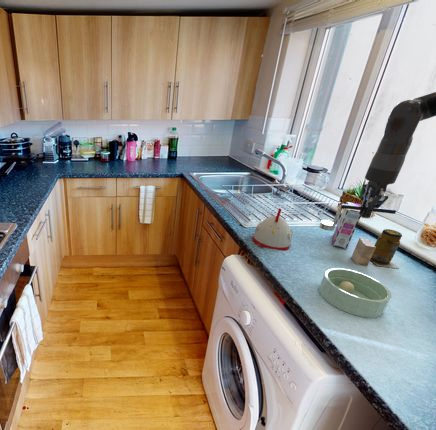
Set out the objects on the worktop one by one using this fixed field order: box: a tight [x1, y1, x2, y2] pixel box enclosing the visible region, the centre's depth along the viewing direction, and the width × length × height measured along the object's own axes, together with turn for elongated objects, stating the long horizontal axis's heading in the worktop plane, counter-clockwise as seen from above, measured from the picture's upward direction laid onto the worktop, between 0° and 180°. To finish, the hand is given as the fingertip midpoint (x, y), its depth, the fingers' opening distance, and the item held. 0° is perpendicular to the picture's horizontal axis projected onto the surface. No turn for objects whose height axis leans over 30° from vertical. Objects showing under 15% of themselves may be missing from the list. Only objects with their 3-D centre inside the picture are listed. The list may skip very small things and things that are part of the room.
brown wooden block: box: [351, 237, 376, 267], centre depth 105 cm, size 3×6×8 cm, turn 159°
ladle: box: [318, 203, 397, 232], centre depth 99 cm, size 19×4×10 cm, turn 70°
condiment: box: [370, 228, 403, 269], centre depth 105 cm, size 7×8×12 cm
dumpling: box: [339, 281, 354, 293], centre depth 89 cm, size 4×4×4 cm
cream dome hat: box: [252, 208, 293, 252], centre depth 116 cm, size 14×14×15 cm
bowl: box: [318, 267, 392, 319], centre depth 86 cm, size 16×16×6 cm
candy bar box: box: [332, 201, 362, 250], centre depth 117 cm, size 11×5×16 cm, turn 145°
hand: (363, 215), depth 98 cm, fingers closed on ladle, 1 cm apart
